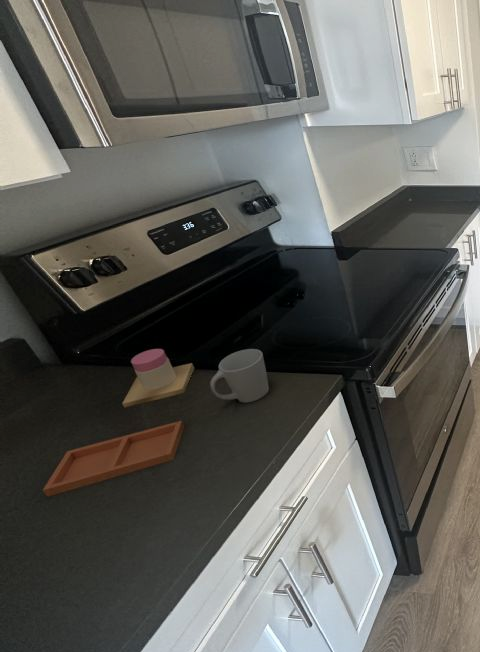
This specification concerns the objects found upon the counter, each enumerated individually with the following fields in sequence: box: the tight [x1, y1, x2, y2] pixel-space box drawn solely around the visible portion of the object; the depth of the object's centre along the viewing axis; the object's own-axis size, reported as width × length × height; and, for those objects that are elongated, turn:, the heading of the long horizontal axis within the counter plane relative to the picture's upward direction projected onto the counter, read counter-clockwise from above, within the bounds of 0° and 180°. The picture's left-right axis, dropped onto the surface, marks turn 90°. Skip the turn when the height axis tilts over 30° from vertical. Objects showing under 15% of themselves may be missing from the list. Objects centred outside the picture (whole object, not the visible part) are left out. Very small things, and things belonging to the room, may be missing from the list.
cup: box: [210, 348, 270, 403], centre depth 85 cm, size 8×10×8 cm
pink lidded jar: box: [130, 348, 176, 390], centre depth 89 cm, size 6×6×6 cm
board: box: [122, 362, 195, 408], centre depth 90 cm, size 10×10×2 cm
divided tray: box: [42, 420, 185, 498], centre depth 72 cm, size 16×9×2 cm, turn 115°
